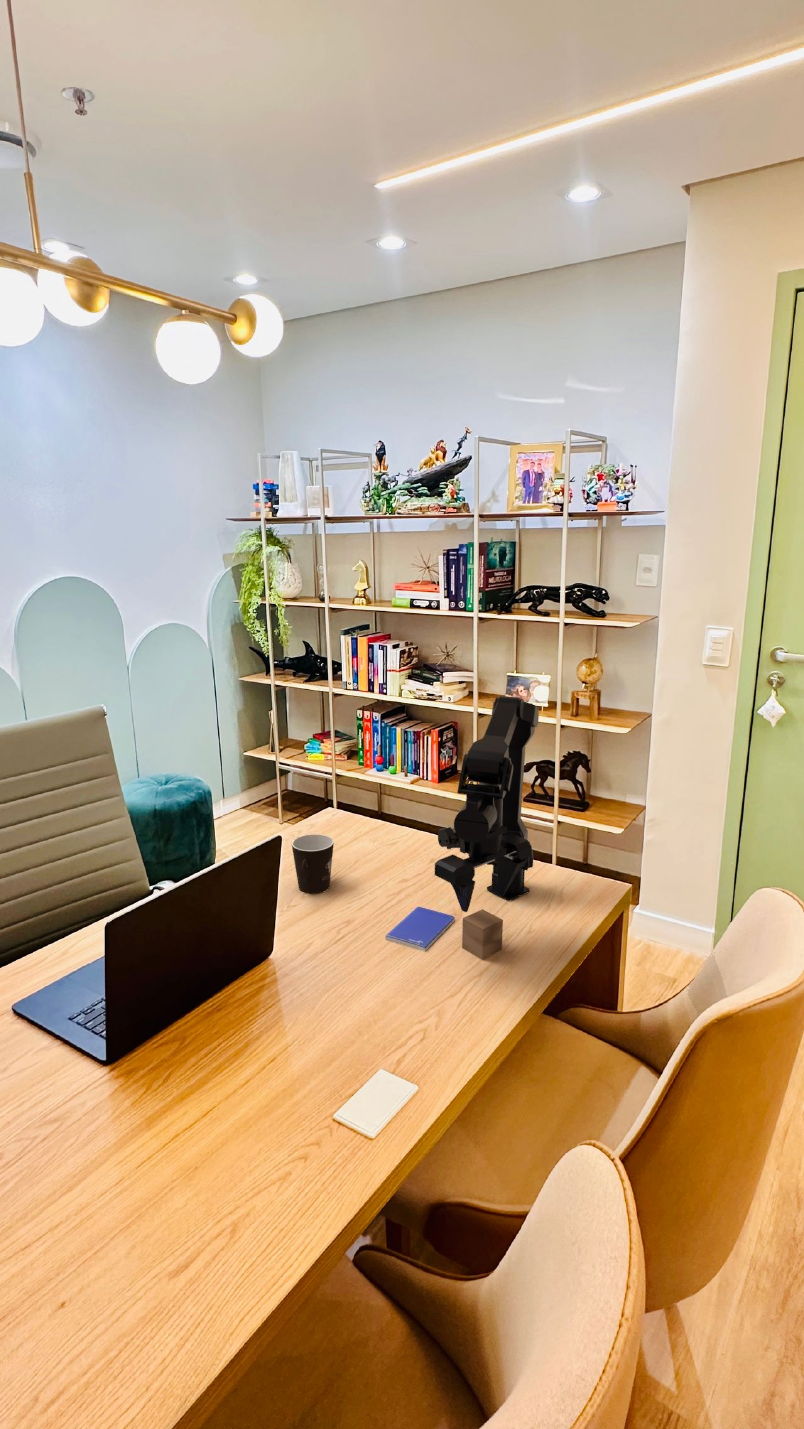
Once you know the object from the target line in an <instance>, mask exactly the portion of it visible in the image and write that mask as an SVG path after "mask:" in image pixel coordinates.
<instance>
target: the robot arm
mask: <svg viewBox="0 0 804 1429" xmlns="http://www.w3.org/2000/svg"><path fill="white" fill-rule="evenodd" d="M490 716H491V717H490V719H489V723H487V727H486V730H485V732H484V735H483V737H482V738H480V739H477V740H476V741H474V742H473V743H471V746H470V748H469V749H468V751H467V753H465V754H464V756H463V760H462V762H461V763H462V765H461V770H460V776H459V781H458V788H457V794H458V795H466V797H465V803H464V805H463V806H462V807H461V809H459V811H458V813H457V814H456V816H455V817H454V820H453V827H451V826H448V827H446V826H444V827H442V828H439V829H438V833H437V840H438V845H439V846H440V847H442V848H446V850H451V849H459V852H460V853H461V854H464V855H465V854H467V855H468V856H467V858H461V857H459V856H458V855H455V854H450V855H448V856H445V857H443V858H440V859H438V860H437V861H436V862H435V863H434V876H436V877H438V878H440V879H441V880H443V881H445V882H447V883H449V884H450V885H451V887H452V888H453V891H454V893H455V895H456V898H457V901H458V903H459V904H458V905H459V907H460V909H461V911H462V912H464V913H467V912H469V908H470V906H471V903H472V902H471V901H472V897H473V894H474V890H475V885H476V880H473V879H474V878H475V876H476V870H475V869H477V868H480V867H482V866H484V865H487V866H489V865H491V866H492V872H491V885H488V886H487V887H486V890H487V891H488V892H491V893H492V894H495V895H496V896H499V897H501V898H503V899H505V900H507V901H512V900H515V899H516V898H519V897H521V896H523V895H525V894H528V893H529V892H530V891H531V890H530V888H529V887H527V886H525V874H526V873H525V871H528V870H529V869H530V868H531V869H532V868H533V867H534V852H533V847H532V845H531V843H530V841H529V839H528V837H529V836H528V835H529V831H528V829H527V826H526V825H525V823H524V821H523V819H522V803H523V791H524V790H523V788H524V787H523V786H524V772H525V757H526V746H527V745H528V744H529V742H530V740H531V739H532V737H534V735H535V731H536V728H538V726H539V718H540V712H539V709H538V707H537V705H535V704H533V703H530V702H527V701H526V700H524V699H523V698H520V697H518V696H504V695H500V696H499V697H497V696H496V697H495V699H494V701H493V703H492V709H491V715H490ZM467 780H468V782H467ZM469 782H473V783H469ZM477 783H478V784H477Z"/></svg>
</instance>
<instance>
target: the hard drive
mask: <svg viewBox="0 0 804 1429" xmlns="http://www.w3.org/2000/svg"><path fill="white" fill-rule="evenodd" d="M455 920H456V919H455V916H454V915H451V914H447V913H445V912H441V911H437V910H432V909H430V908H425V907H423V906H417V907H415V908H414V909H413V910H412V911H411V912H410V913H409V914H408V915H406V916H405V917H404V918H403V919H402V920H401V921H400V922H399V923H398V924H396V926H395V927H393V928H392V929H391V930H390V931H389V932H388V933H386V935H385V941H388V942H391V943H395V944H397V945H402V946H405V947H408V948H411V949H415V950H419V951H422V952H426V951H427V950H428V949H429V948H430V947H431V946H432V945H433V944H435V943H434V942H436V941H437V940H438V939H439V938H440V937H441V936H442V935H443V933H444V932H446V930H447V929H448V928H449V927H450V926H451V925H452V924H453V923H454V922H455Z"/></svg>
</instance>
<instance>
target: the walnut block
mask: <svg viewBox="0 0 804 1429" xmlns="http://www.w3.org/2000/svg"><path fill="white" fill-rule="evenodd" d="M503 924H504V919H503V918H500V917H498V916H496V915H494V914H493V913H491V912H488V911H487V910H485V909H483V908H482V909H480V910H478V911H476V912H473V913H471V914H469V915H467V916H464V917H462V934H461V935H462V937H461V939H462V940H461V948H462V949H463V950H465V951H466V952H468V953H470V954H471V955H473V956H474V957H476V958H478V959H480V960H485V959H487V958H489V957H491V956H493V955H495V954H497V953H498V952H501V951H502V950H503V931H504V930H503V926H504V925H503Z"/></svg>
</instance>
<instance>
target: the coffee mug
mask: <svg viewBox="0 0 804 1429" xmlns="http://www.w3.org/2000/svg"><path fill="white" fill-rule="evenodd" d="M334 843H335V840H334V838H333V837H331V836H329V835H326V834H320V833H310V834H304V835H300V836H298V837H296V838H294V839H293V840H292V841H291V849H292V855H293V862H294V868H295V873H296V878H297V885H298V890H299V891H300V892H302V893H304V894H308V895H318V894H322V893H324V891H325V892H327V891H328V890H329V888H330V884H331V875H332V874H331V873H332V864H333V854H334V845H335V844H334Z"/></svg>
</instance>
